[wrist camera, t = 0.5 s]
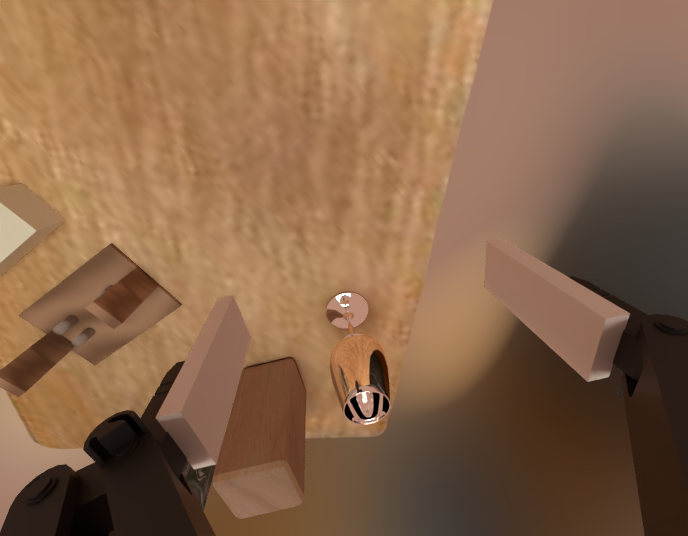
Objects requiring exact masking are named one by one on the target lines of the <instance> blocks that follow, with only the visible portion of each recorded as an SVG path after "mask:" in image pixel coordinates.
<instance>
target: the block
mask: <svg viewBox="0 0 688 536" xmlns="http://www.w3.org/2000/svg"><path fill="white" fill-rule="evenodd" d="M305 416H306V391H305V388H304V386H303V383H302V380H301V378H300V375H299V372H298V370H297V367H296V364H295V362H294V360H293V359H290V358H288V359H284V360H280V361H275V362H271V363H266V364H262V365H258V366H253V367H249V368H246V369H244V370H243V372H242V375H241V379H240V382H239V386H238V389H237V393H236V397H235V400H234V404H233V407H232V411H231V414H230V418H229V421H228V425H227V428H226V432H225V436H224V439H223V443H222V446H221V450H220V453H219V457H218V460H217V464H216V467H215V471H214V475H213V486H214V488H215V489H216V491H217V492H218V493H219V495H220V496H221V497H222V499H223V500H224V501H225V503H226V504H227V505H228V507H229V508H230V510H231V511H232V512H233V514H234V515H235V516H236V517H237V518H241V519H242V518H247V517H251V516H256V515H260V514H264V513H269V512H273V511H277V510H282V509H286V508H290V507H294V506H298V505H300V504H302V502H303V498H304V468H305Z"/></svg>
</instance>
